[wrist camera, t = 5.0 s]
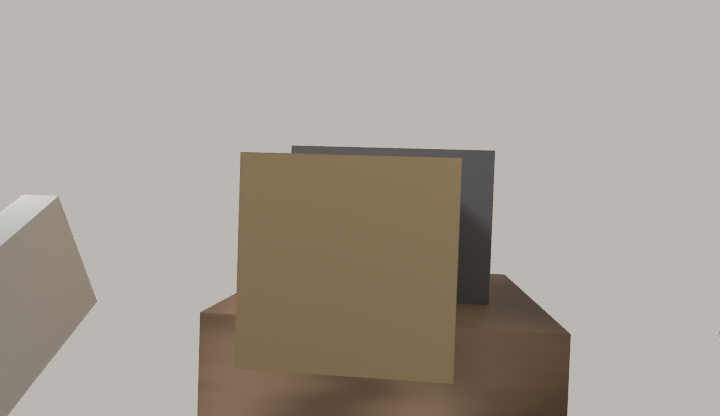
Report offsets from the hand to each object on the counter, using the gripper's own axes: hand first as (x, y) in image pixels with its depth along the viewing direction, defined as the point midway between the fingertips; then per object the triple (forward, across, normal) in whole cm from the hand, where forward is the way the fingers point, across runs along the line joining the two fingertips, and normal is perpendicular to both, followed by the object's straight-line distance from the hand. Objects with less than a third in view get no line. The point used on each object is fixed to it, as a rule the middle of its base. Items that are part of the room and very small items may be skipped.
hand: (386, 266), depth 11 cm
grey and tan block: (+6, -1, -7) cm, 9 cm away
